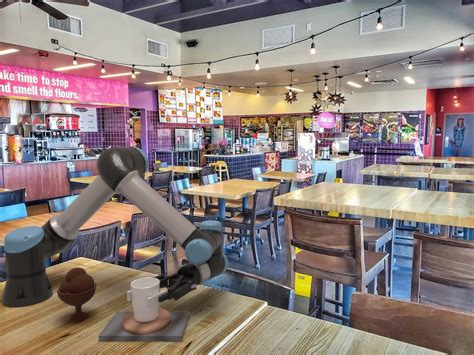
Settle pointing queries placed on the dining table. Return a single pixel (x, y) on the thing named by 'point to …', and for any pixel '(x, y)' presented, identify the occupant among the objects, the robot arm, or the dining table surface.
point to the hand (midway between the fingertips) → (137, 299)
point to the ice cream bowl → (77, 291)
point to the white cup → (144, 298)
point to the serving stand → (145, 327)
